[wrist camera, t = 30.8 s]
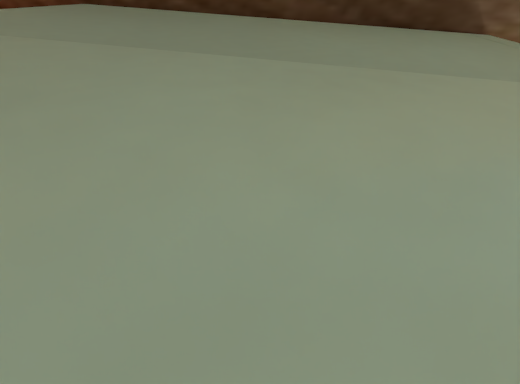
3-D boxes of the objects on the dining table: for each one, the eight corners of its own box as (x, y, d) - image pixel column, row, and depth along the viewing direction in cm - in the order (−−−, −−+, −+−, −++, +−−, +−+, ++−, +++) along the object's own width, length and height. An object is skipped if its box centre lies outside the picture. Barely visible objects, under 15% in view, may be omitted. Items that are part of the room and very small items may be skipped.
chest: (386, 262, 20) (439, 464, 11) (138, 225, 22) (25, 378, 13) (488, 34, 12) (915, 145, 3) (83, 3, 14) (-298, 27, 5)
